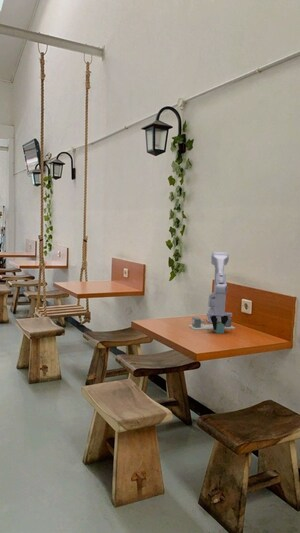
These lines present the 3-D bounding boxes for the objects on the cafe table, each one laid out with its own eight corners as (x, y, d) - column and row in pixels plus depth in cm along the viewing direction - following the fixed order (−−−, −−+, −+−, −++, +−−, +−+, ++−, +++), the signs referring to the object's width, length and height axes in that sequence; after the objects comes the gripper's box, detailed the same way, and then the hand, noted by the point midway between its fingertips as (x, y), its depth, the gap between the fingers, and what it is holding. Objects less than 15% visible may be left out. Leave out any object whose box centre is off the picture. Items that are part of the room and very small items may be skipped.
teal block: (212, 330, 233) (213, 321, 233) (219, 330, 234) (220, 321, 234) (217, 333, 227) (217, 323, 227) (223, 333, 228) (224, 323, 228)
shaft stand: (188, 326, 241) (189, 316, 241) (228, 325, 247) (228, 316, 247) (194, 330, 232) (194, 320, 232) (234, 329, 239) (235, 319, 238)
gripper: (210, 306, 224) (209, 331, 225) (235, 306, 227) (233, 330, 229) (205, 304, 230) (204, 328, 232) (229, 304, 234) (228, 327, 235)
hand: (218, 329), depth 231 cm, fingers closed on teal block, 4 cm apart
